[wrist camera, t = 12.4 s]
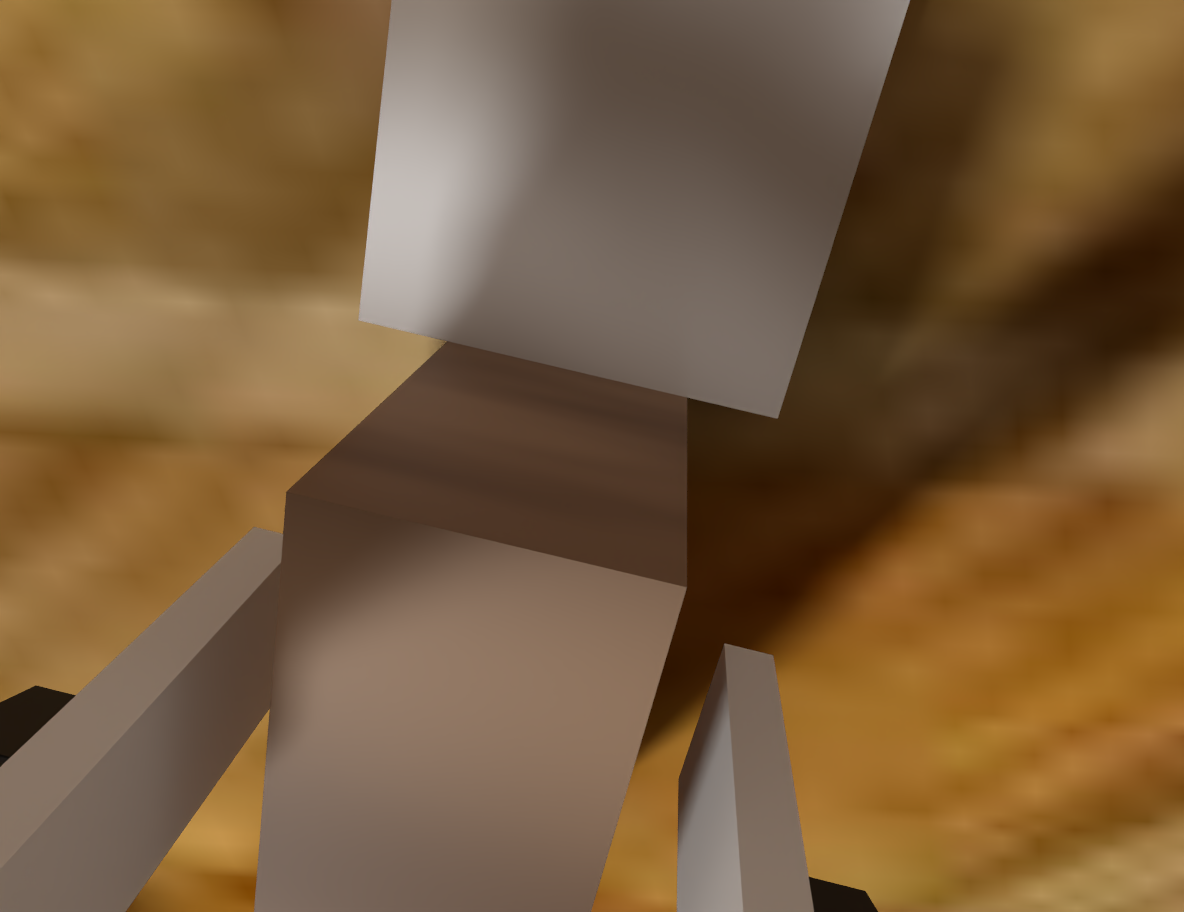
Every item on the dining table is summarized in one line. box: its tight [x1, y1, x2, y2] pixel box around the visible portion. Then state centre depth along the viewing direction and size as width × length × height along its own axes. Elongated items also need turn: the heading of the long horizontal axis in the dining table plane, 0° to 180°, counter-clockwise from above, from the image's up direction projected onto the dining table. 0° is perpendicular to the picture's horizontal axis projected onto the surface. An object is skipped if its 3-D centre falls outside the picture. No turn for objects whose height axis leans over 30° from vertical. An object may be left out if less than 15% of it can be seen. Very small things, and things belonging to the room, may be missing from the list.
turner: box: [254, 0, 910, 912], centre depth 12 cm, size 18×7×7 cm, turn 168°
